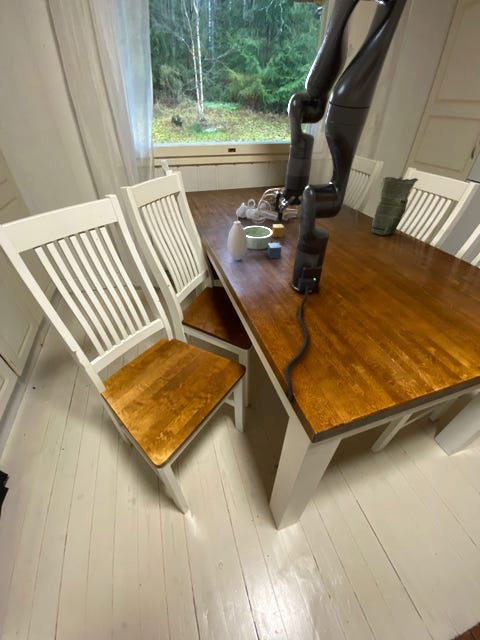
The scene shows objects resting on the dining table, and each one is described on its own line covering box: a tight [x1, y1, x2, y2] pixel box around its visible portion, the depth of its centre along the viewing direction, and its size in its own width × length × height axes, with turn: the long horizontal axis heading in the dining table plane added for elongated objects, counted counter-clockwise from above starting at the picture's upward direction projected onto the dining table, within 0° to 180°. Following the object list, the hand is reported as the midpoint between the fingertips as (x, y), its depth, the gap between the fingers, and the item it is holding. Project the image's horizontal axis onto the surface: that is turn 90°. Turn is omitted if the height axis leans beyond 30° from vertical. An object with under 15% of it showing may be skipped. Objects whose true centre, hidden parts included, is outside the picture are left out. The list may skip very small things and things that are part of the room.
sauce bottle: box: [227, 215, 248, 261], centre depth 106 cm, size 8×8×18 cm
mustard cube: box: [271, 223, 285, 238], centre depth 130 cm, size 5×5×5 cm
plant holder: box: [235, 186, 301, 224], centre depth 147 cm, size 28×35×16 cm
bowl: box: [243, 225, 273, 251], centre depth 123 cm, size 14×14×6 cm
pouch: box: [370, 176, 419, 236], centre depth 128 cm, size 11×12×25 cm
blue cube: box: [266, 242, 282, 259], centre depth 114 cm, size 5×5×5 cm
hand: (291, 221), depth 99 cm, fingers open, 8 cm apart
